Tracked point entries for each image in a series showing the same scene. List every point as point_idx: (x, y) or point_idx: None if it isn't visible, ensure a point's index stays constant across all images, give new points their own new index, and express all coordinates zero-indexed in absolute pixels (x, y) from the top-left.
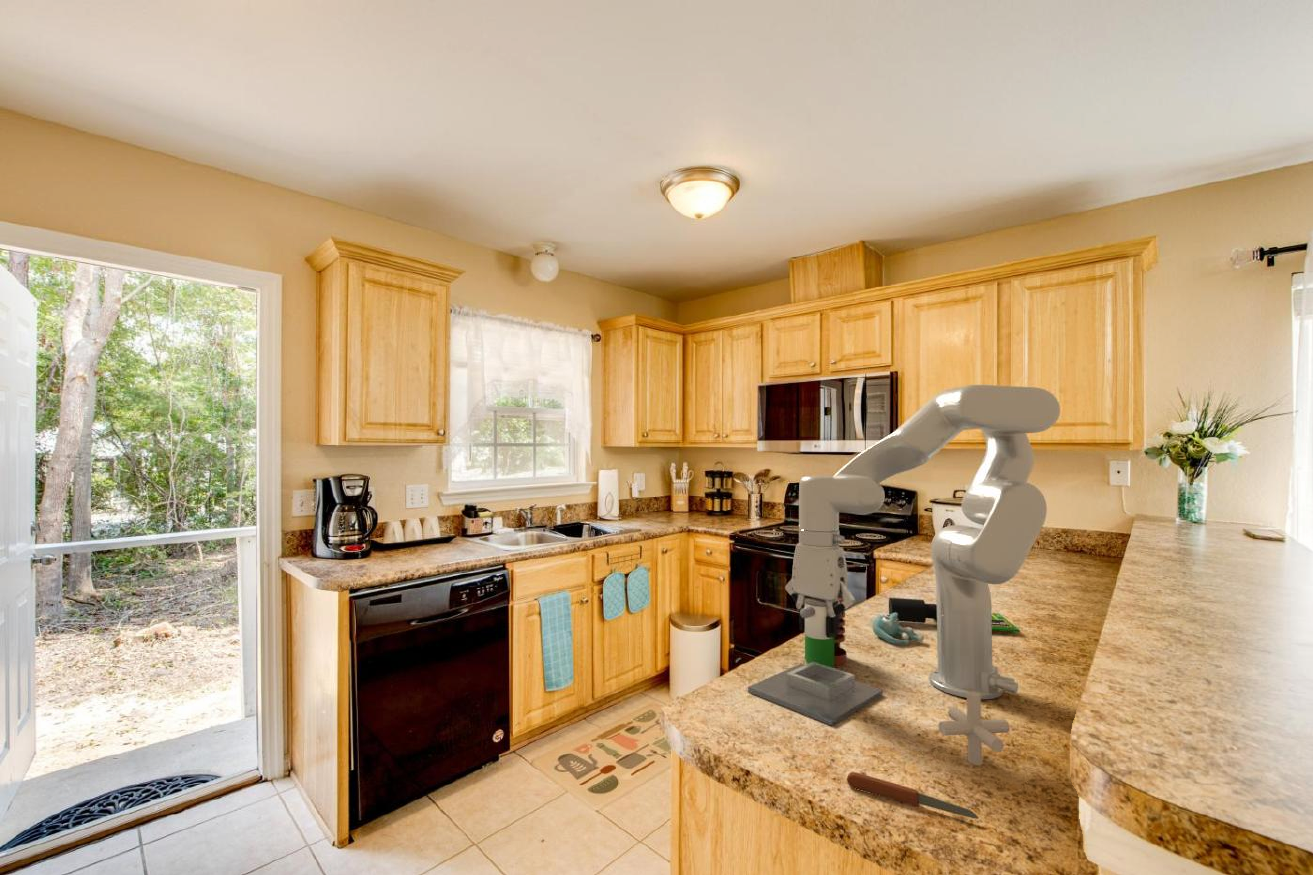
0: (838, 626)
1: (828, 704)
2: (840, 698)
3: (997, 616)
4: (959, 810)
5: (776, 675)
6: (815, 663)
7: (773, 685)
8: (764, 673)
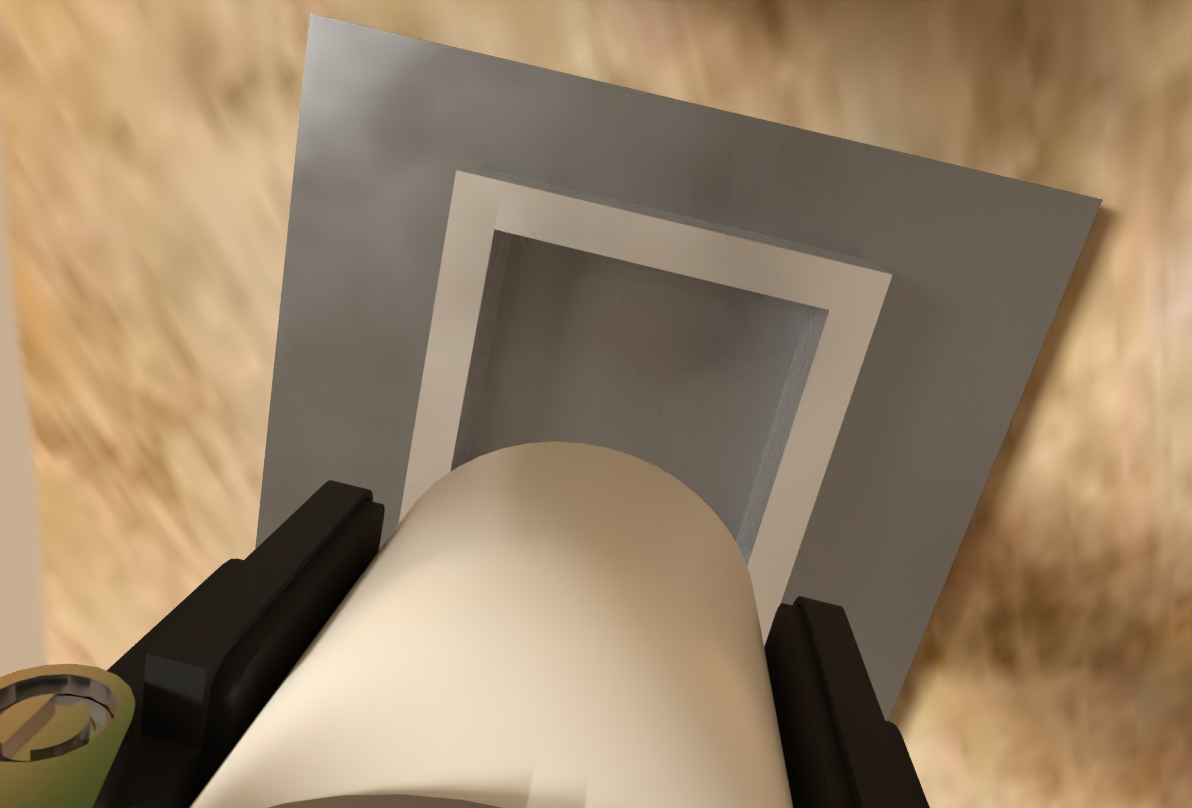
0: (908, 782)
1: None
2: (819, 534)
3: None
4: None
5: (283, 401)
6: (495, 201)
7: None
8: (165, 312)
